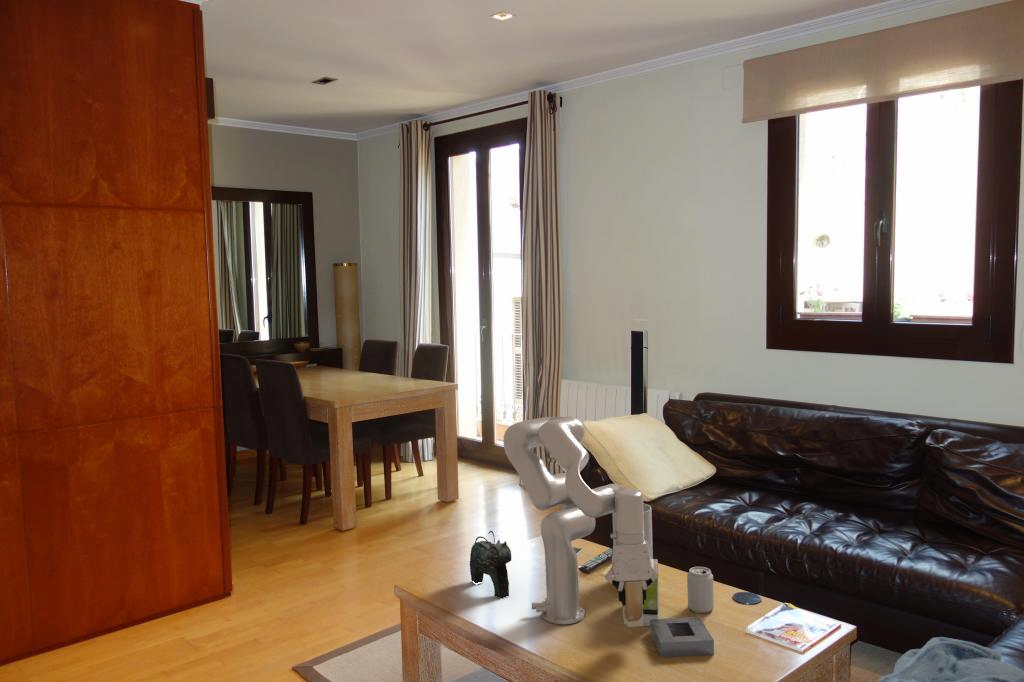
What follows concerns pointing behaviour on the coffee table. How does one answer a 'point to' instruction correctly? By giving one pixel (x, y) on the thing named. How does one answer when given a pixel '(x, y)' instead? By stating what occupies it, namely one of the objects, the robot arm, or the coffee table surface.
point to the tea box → (651, 599)
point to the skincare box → (633, 603)
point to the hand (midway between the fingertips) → (632, 602)
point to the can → (700, 590)
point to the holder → (681, 637)
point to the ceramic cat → (491, 564)
